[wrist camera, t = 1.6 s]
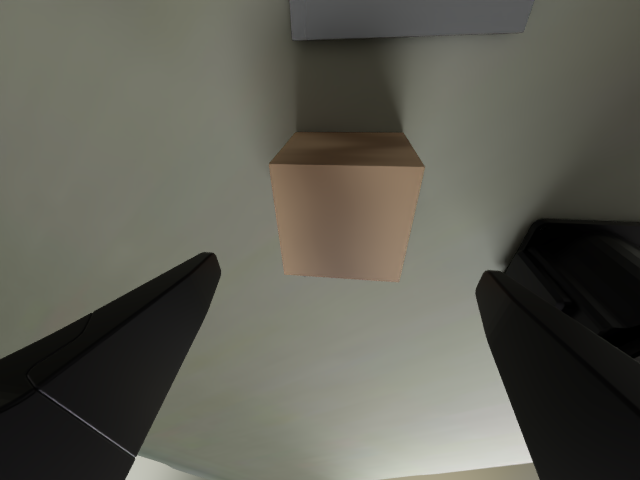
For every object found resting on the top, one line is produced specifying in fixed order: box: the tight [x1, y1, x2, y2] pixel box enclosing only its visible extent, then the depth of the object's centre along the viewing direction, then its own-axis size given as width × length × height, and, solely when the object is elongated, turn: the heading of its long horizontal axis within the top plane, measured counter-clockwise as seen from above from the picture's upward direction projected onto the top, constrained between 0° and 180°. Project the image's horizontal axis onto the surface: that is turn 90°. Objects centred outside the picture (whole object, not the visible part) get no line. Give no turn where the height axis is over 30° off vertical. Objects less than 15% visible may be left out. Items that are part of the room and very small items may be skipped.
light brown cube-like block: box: [269, 132, 425, 282], centre depth 13 cm, size 6×6×5 cm
